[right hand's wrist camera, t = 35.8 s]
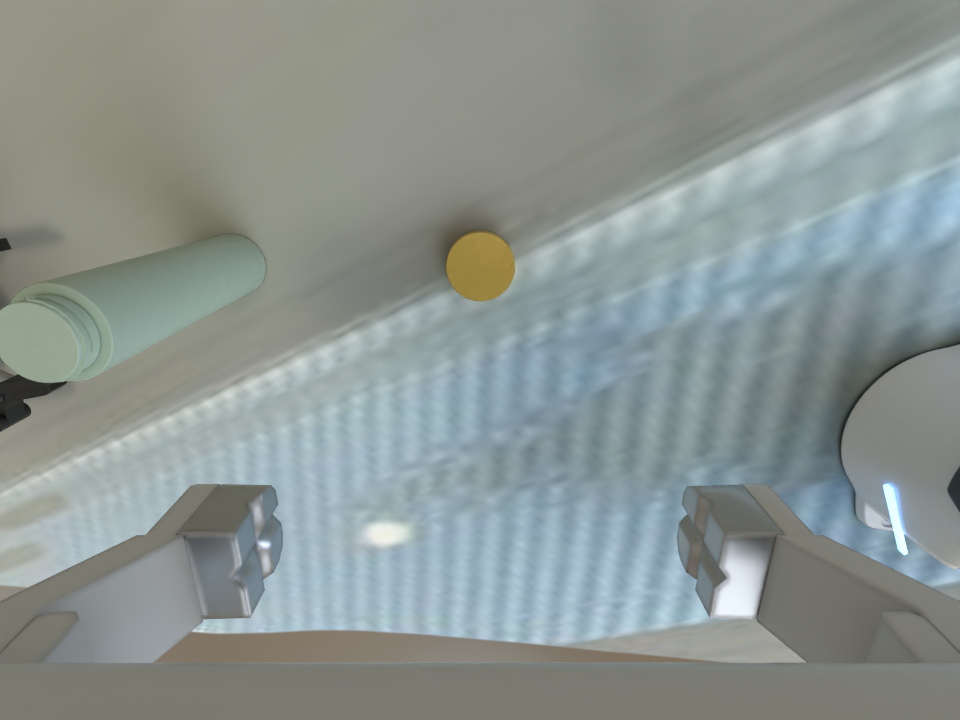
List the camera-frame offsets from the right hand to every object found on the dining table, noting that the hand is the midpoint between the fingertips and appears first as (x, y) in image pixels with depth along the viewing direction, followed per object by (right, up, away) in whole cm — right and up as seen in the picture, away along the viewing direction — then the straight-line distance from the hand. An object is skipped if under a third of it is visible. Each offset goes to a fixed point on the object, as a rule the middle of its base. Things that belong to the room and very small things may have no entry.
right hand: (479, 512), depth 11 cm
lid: (0, +10, +27) cm, 29 cm away
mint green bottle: (-18, +10, +28) cm, 35 cm away
